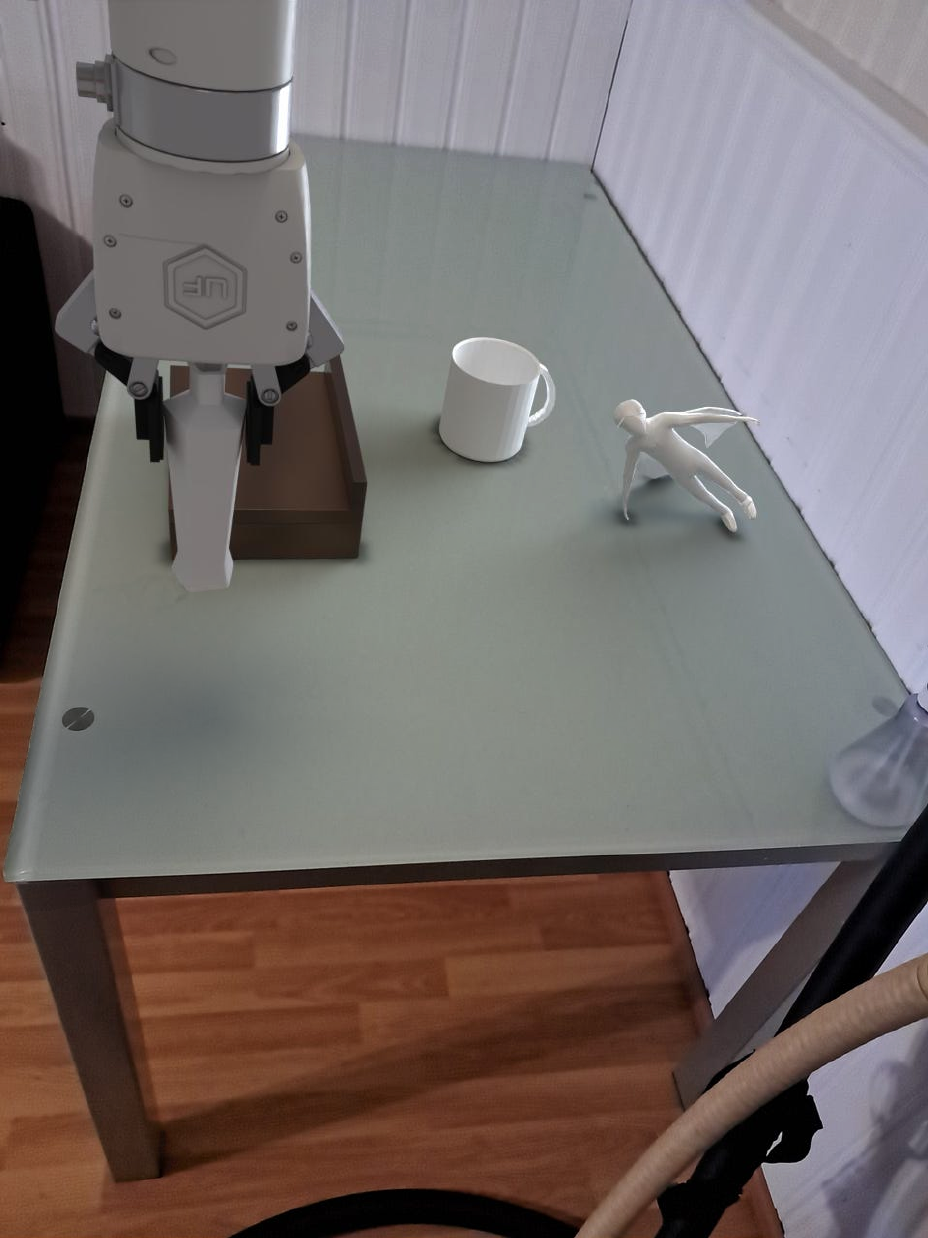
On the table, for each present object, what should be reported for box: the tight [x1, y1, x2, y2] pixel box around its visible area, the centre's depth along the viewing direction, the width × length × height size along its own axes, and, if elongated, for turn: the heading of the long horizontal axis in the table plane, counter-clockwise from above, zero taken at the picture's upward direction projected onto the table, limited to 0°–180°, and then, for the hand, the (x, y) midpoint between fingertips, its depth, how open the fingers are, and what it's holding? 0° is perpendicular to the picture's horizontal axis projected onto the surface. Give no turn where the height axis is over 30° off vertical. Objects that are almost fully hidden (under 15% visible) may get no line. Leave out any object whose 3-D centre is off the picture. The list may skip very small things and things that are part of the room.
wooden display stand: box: [167, 354, 368, 560], centre depth 88 cm, size 16×22×8 cm
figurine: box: [608, 399, 761, 533], centre depth 94 cm, size 16×11×20 cm
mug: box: [438, 336, 556, 463], centre depth 100 cm, size 12×9×9 cm
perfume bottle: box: [163, 362, 247, 592], centre depth 56 cm, size 5×4×15 cm
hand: (205, 447), depth 55 cm, fingers closed on perfume bottle, 4 cm apart
